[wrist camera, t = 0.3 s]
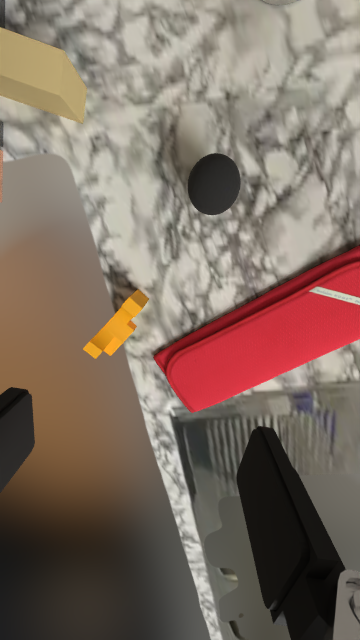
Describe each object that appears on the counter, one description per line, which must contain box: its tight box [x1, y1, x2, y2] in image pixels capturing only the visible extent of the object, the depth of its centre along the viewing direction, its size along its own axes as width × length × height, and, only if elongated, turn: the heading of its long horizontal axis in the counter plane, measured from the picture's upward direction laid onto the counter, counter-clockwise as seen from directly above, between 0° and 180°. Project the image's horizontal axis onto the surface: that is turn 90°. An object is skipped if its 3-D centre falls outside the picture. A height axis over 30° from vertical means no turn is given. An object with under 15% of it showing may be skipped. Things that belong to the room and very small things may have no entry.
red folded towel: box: [153, 245, 360, 413], centre depth 39 cm, size 16×41×4 cm, turn 121°
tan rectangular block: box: [0, 27, 87, 124], centre depth 26 cm, size 4×12×6 cm, turn 74°
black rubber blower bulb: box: [188, 153, 240, 215], centre depth 28 cm, size 6×6×10 cm
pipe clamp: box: [83, 289, 149, 359], centre depth 36 cm, size 12×4×6 cm, turn 136°
